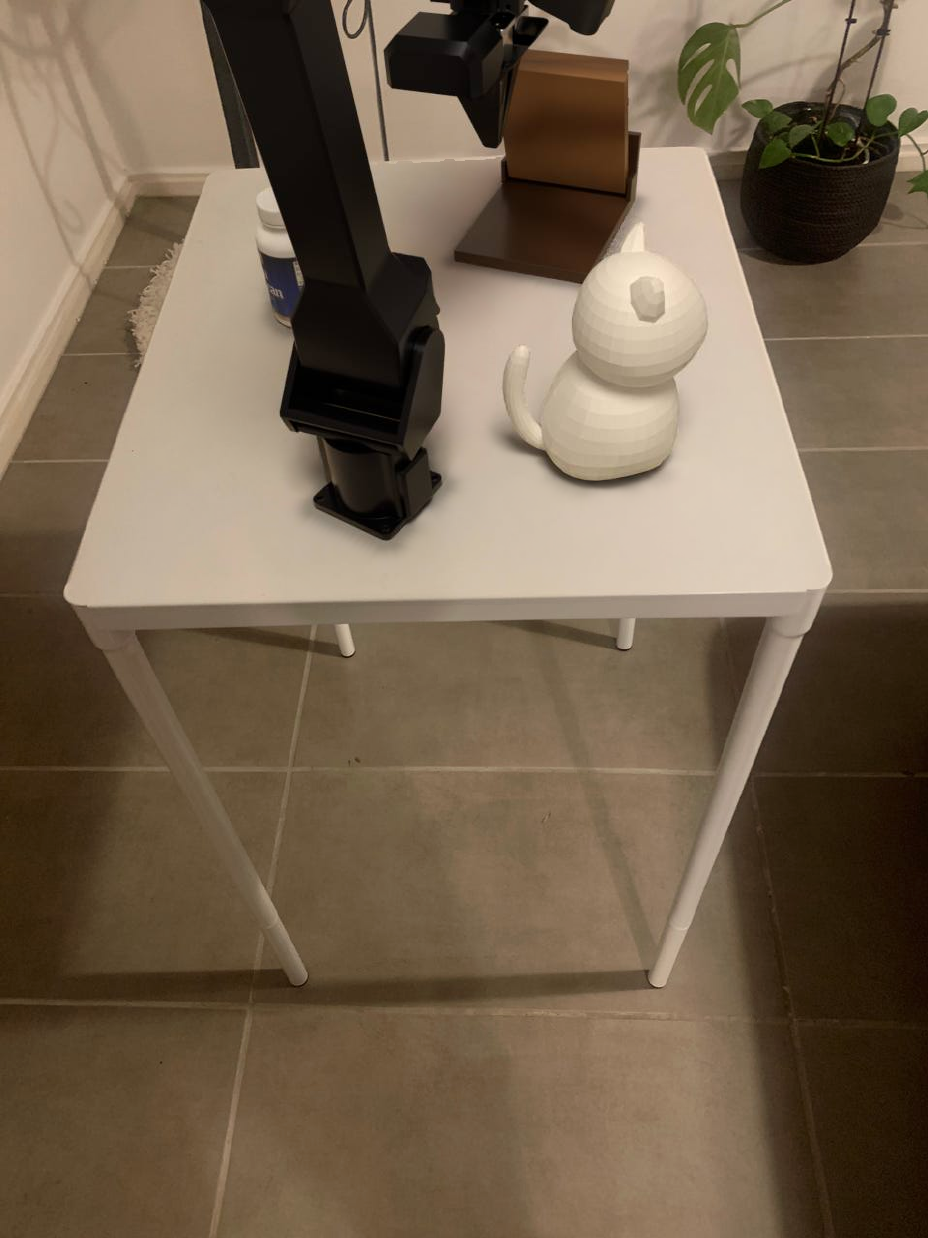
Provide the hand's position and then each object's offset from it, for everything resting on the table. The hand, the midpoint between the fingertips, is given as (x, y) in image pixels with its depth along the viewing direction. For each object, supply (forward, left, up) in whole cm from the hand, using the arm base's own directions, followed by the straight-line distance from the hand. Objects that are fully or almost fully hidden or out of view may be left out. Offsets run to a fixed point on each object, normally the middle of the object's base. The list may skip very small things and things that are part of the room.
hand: (492, 145), depth 65 cm
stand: (-2, +12, -13) cm, 18 cm away
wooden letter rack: (-3, +15, -6) cm, 17 cm away
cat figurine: (+15, -11, -13) cm, 23 cm away
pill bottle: (-13, -8, -13) cm, 20 cm away
